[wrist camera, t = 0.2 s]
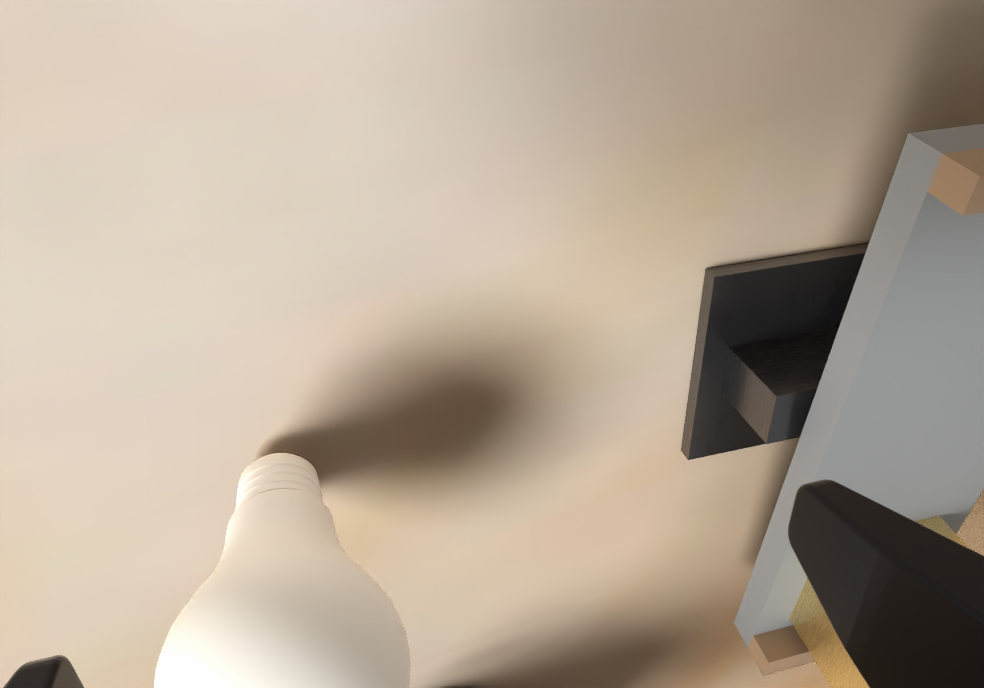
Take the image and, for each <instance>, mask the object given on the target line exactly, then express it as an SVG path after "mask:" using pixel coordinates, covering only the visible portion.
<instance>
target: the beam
mask: <svg viewBox="0 0 984 688" xmlns="http://www.w3.org/2000/svg"><path fill="white" fill-rule="evenodd" d="M820 480H833V481H835V482H838V483H840V484H841V485H843V486H845V487H847V488H849V489H851V490H853V491H855V492H857V493H859V494H861V495H863V496H865V497H867V498H869V499H871V500H873V501H875V502H877V503H879V504H881V505H883V506H885V507H887V508H889V509H891V510H893V511H895V512H897V513H899V514H901V515H903V516H905V517H907V518H909V519H911V520H913V521H918V520H922V519H926V518H930V517H934V516H938V515H939V516H940V517H941V518H942V519H943V520H944V522H945V523H946V524H947V525H948V526H949V527H950V528H951V529H952V530H953V532H954V533H955V534H956V533H957V532H958V530H959V528H960V527H961V525H962V523H963V522H964V520H965V518H966V517H967V515H968V513H969V512H970V510H971V509H972V507H973V505H974V504H975V502H976V500H977V499H978V497H979V495H980V494H981V492H982V490H983V489H984V123H983V124H976V125H968V126H960V127H952V128H944V129H936V130H928V131H921V132H913V133H908V135H907V138H906V141H905V144H904V147H903V149H902V152H901V155H900V158H899V161H898V163H897V166H896V169H895V172H894V175H893V177H892V180H891V183H890V186H889V189H888V191H887V194H886V197H885V200H884V203H883V206H882V208H881V211H880V214H879V217H878V220H877V222H876V225H875V228H874V231H873V234H872V236H871V239H870V242H869V245H868V248H867V250H866V253H865V256H864V259H863V262H862V265H861V267H860V270H859V273H858V276H857V279H856V281H855V284H854V287H853V290H852V293H851V295H850V298H849V301H848V304H847V307H846V309H845V312H844V315H843V318H842V321H841V323H840V326H839V329H838V332H837V335H836V338H835V340H834V343H833V346H832V349H831V352H830V354H829V357H828V360H827V363H826V366H825V368H824V371H823V374H822V377H821V380H820V382H819V385H818V388H817V391H816V394H815V397H814V399H813V402H812V405H811V408H810V411H809V413H808V416H807V419H806V422H805V425H804V427H803V430H802V433H801V436H800V439H799V441H798V444H797V447H796V450H795V453H794V456H793V458H792V461H791V464H790V467H789V470H788V472H787V475H786V478H785V481H784V484H783V486H782V489H781V492H780V495H779V498H778V500H777V503H776V506H775V509H774V512H773V514H772V517H771V520H770V523H769V526H768V529H767V531H766V534H765V537H764V540H763V543H762V545H761V548H760V551H759V554H758V557H757V559H756V562H755V565H754V568H753V571H752V573H751V576H750V579H749V582H748V585H747V588H746V590H745V593H744V596H743V599H742V602H741V604H740V607H739V610H738V613H737V616H736V618H735V621H734V624H735V626H736V628H737V630H738V631H739V633H740V635H741V637H742V639H743V640H744V642H745V644H746V646H747V648H748V649H749V651H750V653H751V655H752V656H753V658H754V660H755V662H756V664H757V665H758V667H759V669H760V671H761V673H762V674H763V675H767V674H771V673H774V672H778V671H781V670H785V669H789V668H792V667H796V666H799V665H803V664H807V663H810V662H814V661H815V660H814V658H813V656H812V655H811V653H810V652H809V650H808V648H807V647H806V645H805V644H804V642H803V640H802V639H801V637H800V636H799V634H798V632H797V631H796V629H795V628H794V626H793V624H792V623H791V621H790V620H789V619H790V617H791V614H792V612H793V610H794V608H795V605H796V603H797V601H798V598H799V596H800V594H801V591H802V589H803V587H804V585H805V582H806V580H807V576H806V574H805V572H804V570H803V568H802V566H801V564H800V563H799V561H798V559H797V557H796V555H795V553H794V551H793V549H792V547H791V545H790V542H789V538H788V524H789V520H790V516H791V512H792V508H793V504H794V500H795V495H796V492H797V490H798V488H799V487H800V486H801V485H803V484H807V483H811V482H815V481H820Z"/></svg>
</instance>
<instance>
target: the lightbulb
mask: <svg viewBox="0 0 984 688" xmlns="http://www.w3.org/2000/svg"><path fill="white" fill-rule="evenodd" d="M409 684H410V655H409V646H408V641H407V636H406V631H405V629H404V626H403V624H402V622H401V619H400V617H399V615H398V613H397V611H396V609H395V607H394V605H393V603H392V601H391V599H390V598H389V596H388V595H387V594H386V593H385V591H384V590H383V589H382V588H381V587H380V586H379V584H378V583H377V582H376V581H375V580H374V579H373V578H372V577H371V576H370V575H369V574H368V573H367V572H366V571H365V570H364V569H363V568H362V567H361V566H360V565H359V564H357V563H356V562H355V561H354V560H353V559H351V558H350V557H349V556H348V555H347V553H346V552H345V551H344V549H343V548H342V546H341V544H340V542H339V540H338V537H337V535H336V531H335V526H334V522H333V517H332V515H331V513H330V511H329V509H328V507H327V506H326V505H325V504H324V502H323V497H322V493H321V487H320V483H319V481H318V476H317V472H316V470H315V468H314V467H313V466H312V464H311V463H309V462H308V461H307V460H305V459H304V458H302V457H300V456H296V455H293V454H288V453H274V454H269V455H266V456H263V457H261V458H259V459H257V460H255V461H254V462H252V463H251V464H249V465H248V466H247V467H246V469H245V470H244V471H243V473H242V474H241V477H240V480H239V486H238V489H237V499H236V508H235V512H234V513H233V515H232V517H231V518H230V521H229V523H228V526H227V531H226V539H225V547H224V550H223V553H222V556H221V559H220V561H219V563H218V565H217V566H216V568H215V570H214V572H213V573H212V574H211V575H210V576H209V577H208V578H207V579H206V581H205V582H204V583H203V584H202V585H201V586H200V587H199V588H198V589H197V591H196V592H195V593H194V595H193V596H192V597H191V599H190V600H189V602H188V603H187V604H186V606H185V607H184V608H183V610H182V611H181V612H180V614H179V615H178V617H177V619H176V620H175V622H174V623H173V625H172V627H171V628H170V630H169V633H168V635H167V638H166V640H165V643H164V645H163V648H162V651H161V653H160V657H159V660H158V664H157V667H156V672H155V681H154V688H409Z"/></svg>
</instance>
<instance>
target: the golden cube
mask: <svg viewBox="0 0 984 688" xmlns="http://www.w3.org/2000/svg"><path fill="white" fill-rule="evenodd" d="M915 522H917V523H919V524H921V525H923V526H925V527H927V528H929V529H931V530H933V531H935V532H937V533H939V534H941V535H943V536H945V537H947V538H949V539H951V540H953V541H955V542H957V543H959V544H961V545H963V546H965V547H967V546H966V545H965V544H964V543H963V542H962V540H961V539H960V538H959V537H958V536H957V535H956V534H955V533H954V532H953V530H952V529H951V528H950V527H949V526H948V525H947V524H946V523H945V522H944V520H943V519H942V518H941V517H940V516H939V515H938V516H934V517H930V518H926V519H922V520H918V521H915ZM967 548H968V547H967ZM789 620H790V621H791V623H792V624H793V626H794V628H795V629H796V631H797V632H798V634H799V636H800V637H801V639H802V640H803V642H804V644H805V645H806V647H807V648H808V650H809V652H810V653H811V655H812V656H813V658H814V660H815V661H816V663H817V664H818V666H819V668H820V669H821V671H822V672H823V674H824V676H825V677H826V679H827V680H828V682H829V684H830V685H831V687H832V688H870V687H869V686H868V684H867V683H866V681H865V680H864V678H863V677H862V675H861V674H860V672H859V670H858V669H857V667H856V666H855V664H854V663H853V661H852V659H851V658H850V656H849V655H848V653H847V651H846V650H845V648H844V646H843V644H842V643H841V641H840V639H839V637H838V635H837V634H836V632H835V630H834V628H833V626H832V624H831V622H830V620H829V618H828V616H827V614H826V613H825V611H824V609H823V607H822V605H821V603H820V601H819V599H818V597H817V595H816V593H815V591H814V589H813V588H812V586H811V584H810V582H809V580H808V578H807V580H806V582H805V585H804V587H803V589H802V591H801V594H800V596H799V598H798V601H797V603H796V605H795V608H794V610H793V612H792V614H791V617H790V619H789Z"/></svg>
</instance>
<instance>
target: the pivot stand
mask: <svg viewBox="0 0 984 688" xmlns="http://www.w3.org/2000/svg"><path fill="white" fill-rule="evenodd" d="M868 245H869V243H867V244H861V245H854V246H848V247H842V248H835V249H829V250H823V251H817V252H810V253H804V254H798V255H791V256H785V257H779V258H772V259H766V260H760V261H753V262H747V263H741V264H735V265H728V266H722V267H716V268H709V269H706V270H705V278H704V285H703V292H702V300H701V307H700V315H699V322H698V329H697V337H696V344H695V352H694V359H693V366H692V374H691V381H690V389H689V396H688V403H687V411H686V418H685V425H684V433H683V440H682V448H681V451H682V452H683V453H684V455H685V456H686V458H687V459H688V460H690V459H695V458H700V457H705V456H709V455H714V454H719V453H724V452H728V451H733V450H738V449H743V448H747V447H752V446H757V445H761V444H769V443H774V442H778V441H783V440H788V439H793V438H797V437H800V436H801V433H802V430H803V427H804V425H805V422H806V419H807V416H808V413H809V411H810V408H811V405H812V402H813V399H814V397H815V394H816V391H817V388H818V385H819V382H820V380H821V377H822V374H823V371H824V368H825V366H826V363H827V360H828V357H829V354H830V352H831V349H832V346H833V343H834V340H835V338H836V335H837V332H838V329H839V326H840V323H841V321H842V318H843V315H844V312H845V309H846V307H847V304H848V301H849V298H850V295H851V293H852V290H853V287H854V284H855V281H856V279H857V276H858V273H859V270H860V267H861V265H862V262H863V259H864V256H865V253H866V250H867V248H868Z"/></svg>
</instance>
